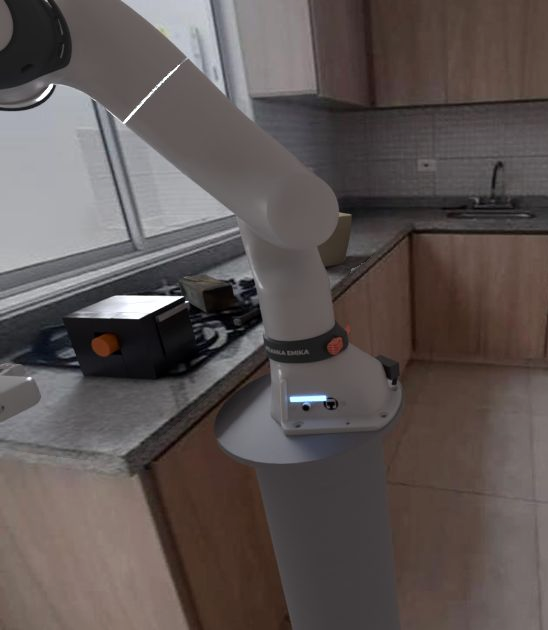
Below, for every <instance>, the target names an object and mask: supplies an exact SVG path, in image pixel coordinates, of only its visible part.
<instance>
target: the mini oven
mask: <svg viewBox="0 0 548 630" xmlns="http://www.w3.org/2000/svg"><path fill="white" fill-rule="evenodd" d="M189 307H191V303H189V301H186V300H185V297H184V296H182V295H181V296H180V295H113V296H110V297H108V298H105V299H103V300H100V301H98V302H96V303H93V304H91V305H88V306H85V307H83V308H80V309H78V310H76V311H74V312H71V313H68V314H67V315H64V316H62V317H61V319H62V322H63V326H64V328H65V330H66V333H67V336H68V339H69V341H70V343H71V344H70V345H71V346H72V349H73V352H74V355H75V357H76V360H77V363H78V365H79V368H80V370H81V373H82V376H84V377H97V378H98V377H100V378H101V377H102V378H118V379H119V378H121V379H138V380H139V379H141V380H158V379H160V378H161V377H162V376H165V375H166V374H167V373H168V372H170V371H171V370H173V369H174V368H176V367H177V366H179V365H180V364H182V363H183V362H185V361H186V360H187V359H188V358H190V357H192V356H193V355H194V354H196V353H197V352H199V348H198V343H197V340H196V336H195V331H194V327H193V323H192V320H191V316H190V311H189V309H188V308H189ZM105 333H115V335H116V338H117V341H118V344H119V347H120V349H119V350H117V351H115V352H113V353H112V354H110V355H108V356H105V357H104V356H100V355H98V354H97V353H96V352H95V351H94V350H93V348H92V341H93V340H94V339H95V338H97V337H99V336H101V335H103V334H105Z"/></svg>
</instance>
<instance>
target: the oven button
mask: <svg viewBox="0 0 548 630" xmlns="http://www.w3.org/2000/svg"><path fill="white" fill-rule="evenodd" d="M92 348H93V350H94V351H95V352H96V353H97V354H98V355H100V356H104V357H105V356H108V355H110V354H112V353H113V352H115V351H117V350H119V349H120V347H119V344H118V341H117V338H116V335H115V333H105V334H103V335H101V336H99V337H97V338H95V339H94V340H93V341H92Z"/></svg>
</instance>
